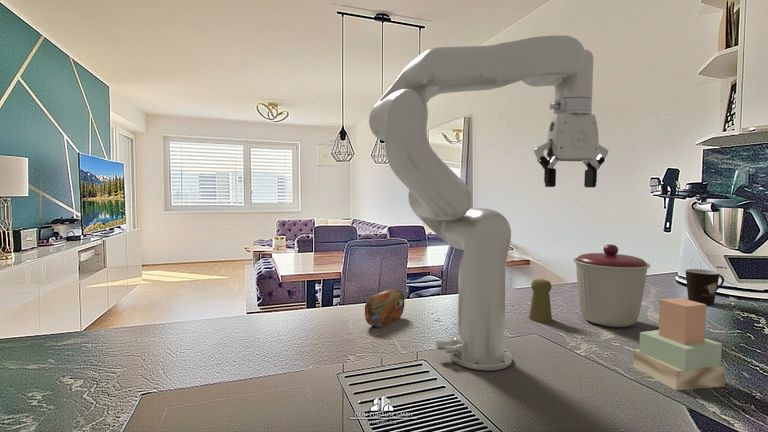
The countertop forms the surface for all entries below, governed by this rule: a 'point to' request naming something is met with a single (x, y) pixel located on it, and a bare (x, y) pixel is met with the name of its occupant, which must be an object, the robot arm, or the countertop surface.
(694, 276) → the coffee mug
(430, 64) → the robot arm
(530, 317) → the cork
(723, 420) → the countertop surface
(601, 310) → the canister
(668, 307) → the terracotta block
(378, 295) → the tin
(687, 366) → the top block
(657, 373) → the bottom block
